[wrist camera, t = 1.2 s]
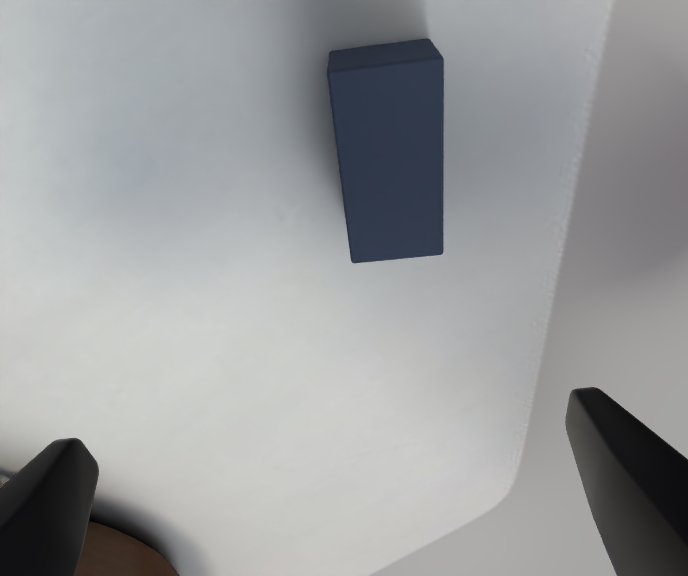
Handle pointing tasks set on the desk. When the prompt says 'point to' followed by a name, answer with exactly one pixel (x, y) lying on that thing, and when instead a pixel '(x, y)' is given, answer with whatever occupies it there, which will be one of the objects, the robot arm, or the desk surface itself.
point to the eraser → (390, 147)
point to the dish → (119, 555)
